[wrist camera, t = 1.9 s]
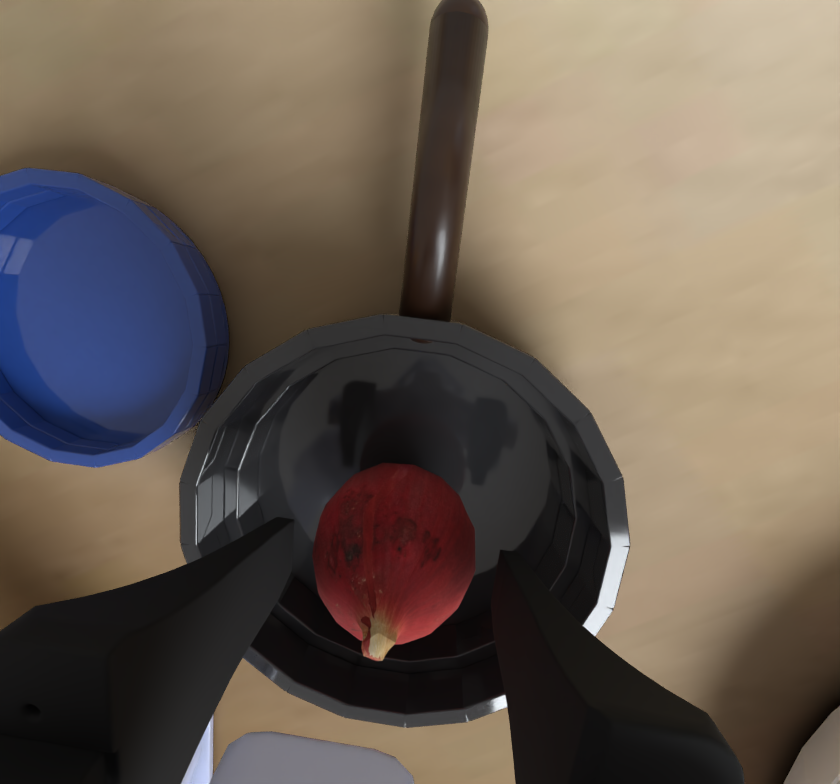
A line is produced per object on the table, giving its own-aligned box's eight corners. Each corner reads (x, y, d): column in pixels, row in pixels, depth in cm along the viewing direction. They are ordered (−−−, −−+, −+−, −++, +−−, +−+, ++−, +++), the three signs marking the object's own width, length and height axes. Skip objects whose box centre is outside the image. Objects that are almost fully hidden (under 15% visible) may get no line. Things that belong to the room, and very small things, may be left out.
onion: (321, 467, 18) (224, 588, 10) (436, 416, 17) (428, 506, 9) (378, 571, 19) (329, 759, 11) (489, 528, 18) (523, 698, 10)
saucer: (229, 467, 18) (206, 484, 17) (-10, 434, 19) (-57, 446, 17) (233, 200, 16) (207, 186, 14) (-41, 169, 16) (-100, 152, 15)
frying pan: (549, 667, 19) (576, 756, 15) (232, 617, 20) (180, 691, 16) (624, 341, 16) (682, 350, 12) (239, 293, 17) (176, 288, 13)
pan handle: (446, 344, 15) (446, 349, 13) (399, 338, 15) (393, 342, 13) (489, 23, 12) (496, -24, 11) (433, 18, 13) (432, -30, 11)
